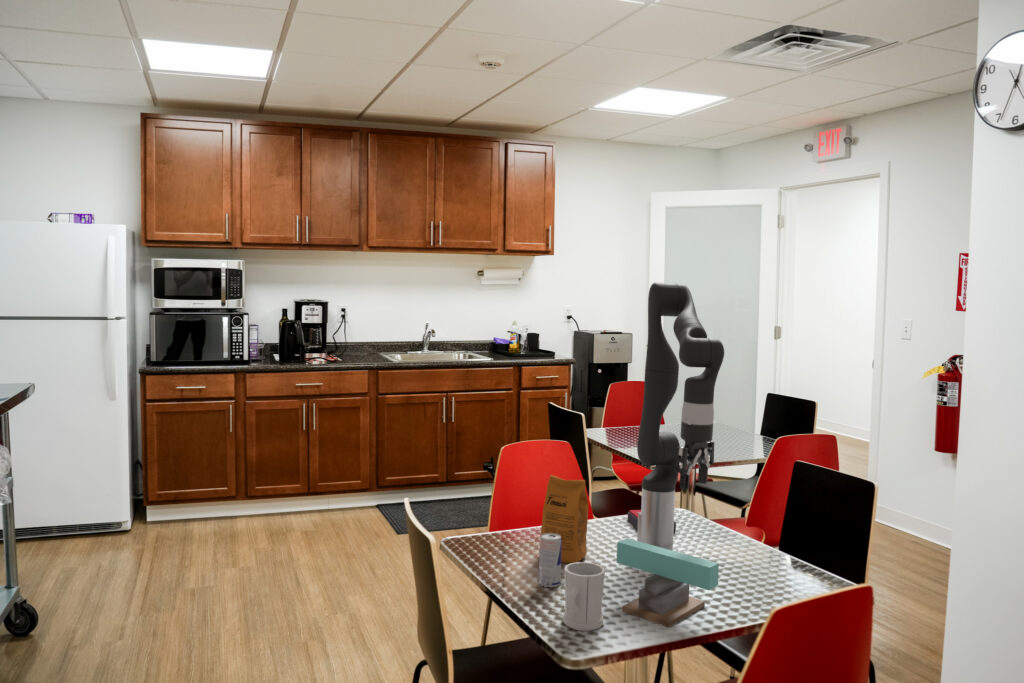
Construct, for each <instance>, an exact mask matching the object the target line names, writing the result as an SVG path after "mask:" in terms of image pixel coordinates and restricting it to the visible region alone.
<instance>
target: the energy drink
mask: <svg viewBox="0 0 1024 683" xmlns="http://www.w3.org/2000/svg"><path fill="white" fill-rule="evenodd" d="M561 551H562V539H561V536H560V535H558V534H554V533H546V534H542V535H541V534H540V538H539V559H538V560H539V562H538V563H539V565H538V566H539V567H538V569H539V570H538V583H539V585H540V586H541V587H543V586H544V587H543V588H547V587H550V588H549V589H553V588H552V587H555V588H558V587H559V586H560V585H561V583H562V582H561V581H562V577H561V576H562V575H561V574H562V572H561V571H562V563H561ZM557 586H558V587H557Z"/></svg>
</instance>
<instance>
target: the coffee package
mask: <svg viewBox="0 0 1024 683" xmlns="http://www.w3.org/2000/svg"><path fill="white" fill-rule="evenodd" d="M586 485H587V482H586V479H563V478H560V477H558V476H555V475H553V474H551V475H550V476H549V478H548V483H547V486H546V494H545V496H544V497H545V498H544V502H543V503H544V504H543V507H542V508H543V509H542V518H541V529H540V530H541V531H540V536H541V535H542V534H546V533H554V534H558V535H560V536H561V539H562V551H561V562H564V563H563V564H570V563H575V562H581V560H582V559H583V558H585V557H587V556H586V555H587V551H588V550H587V549H588V548H587V547H588V546H587V544H588V543H587V532H588V523H589V522H588V521H589V518H588V517H589V514H588V513H589V502H588V495H587V491H586V490H587V489H586Z"/></svg>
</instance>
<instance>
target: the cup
mask: <svg viewBox="0 0 1024 683" xmlns="http://www.w3.org/2000/svg"><path fill="white" fill-rule="evenodd" d="M563 570H564V589H565V593H564V594H565V601H564V602H565V604H564V605H565V607H564V608H565V611H564V612H563V613H562V614H563V615H562V622H563V623H564V624H565V626H567V627H568V628H570V629H572V630H576V631H580V632H590V631H595V630H598V629H599V628H601V627H602V626H603V625H604V615H603V614H602V613H603V612H602V611H603V609H602V608H603V596H604V595H603V594H604V585H605V576H606V570H605V568H604V567H603V566H602V565H600V564H596V563H592V562H584V561H583V562H582V561H579V562H575V563H567V564H566V565H565V566H564V569H563Z"/></svg>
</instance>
